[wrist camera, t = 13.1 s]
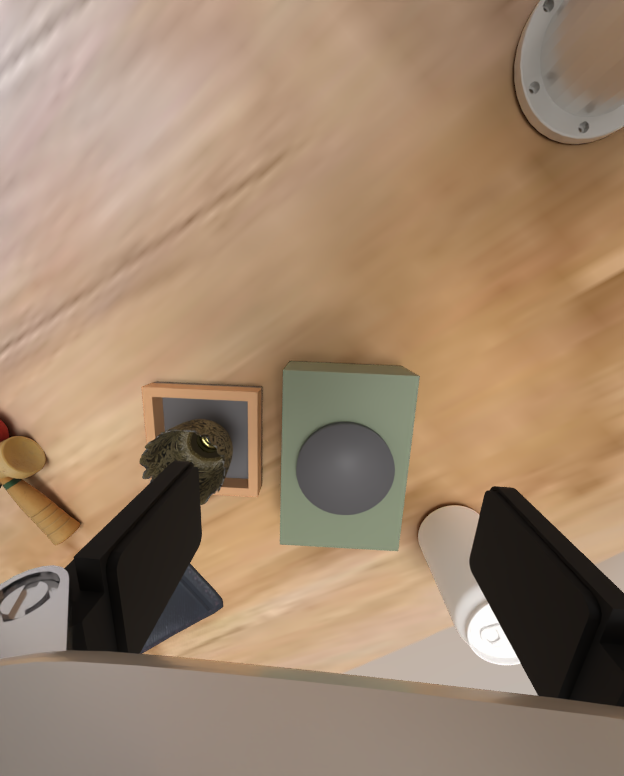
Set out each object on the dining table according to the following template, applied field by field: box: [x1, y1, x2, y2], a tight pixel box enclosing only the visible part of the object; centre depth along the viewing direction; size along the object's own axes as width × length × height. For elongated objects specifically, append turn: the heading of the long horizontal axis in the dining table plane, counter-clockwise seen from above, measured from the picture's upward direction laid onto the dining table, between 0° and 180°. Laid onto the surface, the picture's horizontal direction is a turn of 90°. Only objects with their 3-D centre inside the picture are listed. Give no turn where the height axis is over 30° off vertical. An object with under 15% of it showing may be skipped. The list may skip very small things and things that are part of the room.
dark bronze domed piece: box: [140, 419, 233, 505], centre depth 30 cm, size 8×7×8 cm
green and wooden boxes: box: [141, 361, 420, 551], centre depth 31 cm, size 18×27×7 cm, turn 88°
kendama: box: [0, 420, 80, 545], centre depth 34 cm, size 8×6×18 cm
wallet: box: [140, 564, 223, 654], centre depth 40 cm, size 20×2×15 cm
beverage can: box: [418, 505, 521, 665], centre depth 30 cm, size 8×8×12 cm
